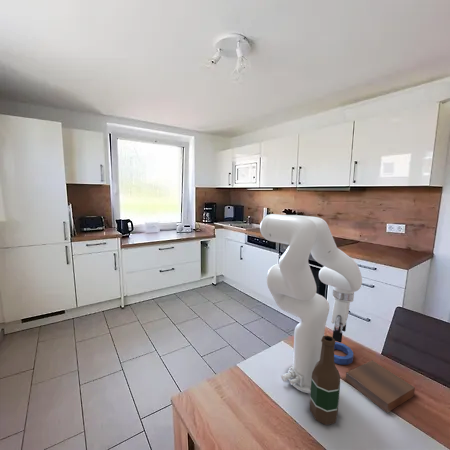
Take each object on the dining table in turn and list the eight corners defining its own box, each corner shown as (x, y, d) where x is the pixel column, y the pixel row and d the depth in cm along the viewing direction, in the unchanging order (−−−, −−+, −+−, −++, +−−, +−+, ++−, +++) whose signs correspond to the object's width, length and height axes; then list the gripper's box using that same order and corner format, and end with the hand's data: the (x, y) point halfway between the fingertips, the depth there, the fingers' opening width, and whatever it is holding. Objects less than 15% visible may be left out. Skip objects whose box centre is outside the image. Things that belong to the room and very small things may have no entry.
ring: (339, 368, 90) (340, 362, 89) (317, 351, 99) (317, 345, 99) (358, 359, 94) (359, 354, 94) (336, 344, 104) (336, 338, 103)
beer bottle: (341, 428, 67) (347, 348, 63) (311, 423, 68) (316, 345, 65) (334, 404, 74) (339, 332, 71) (307, 400, 76) (311, 329, 73)
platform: (387, 413, 72) (388, 404, 71) (345, 380, 84) (346, 372, 84) (414, 396, 78) (415, 387, 77) (371, 367, 90) (372, 360, 90)
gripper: (336, 286, 106) (333, 323, 108) (328, 299, 91) (324, 342, 93) (356, 290, 102) (352, 329, 103) (350, 304, 87) (346, 349, 89)
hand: (339, 335), depth 98 cm, fingers open, 9 cm apart
